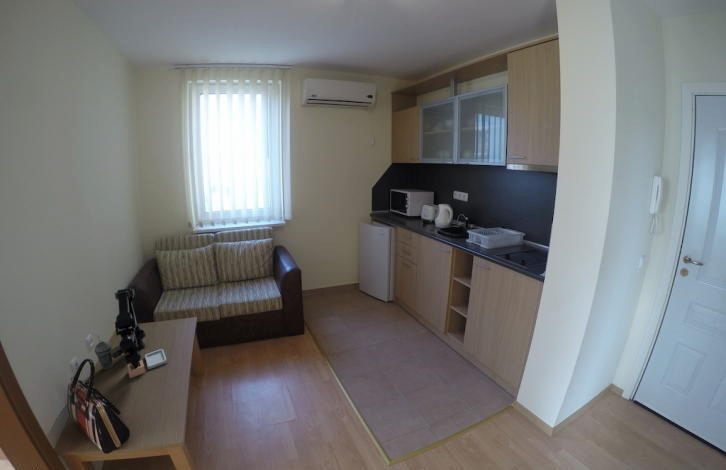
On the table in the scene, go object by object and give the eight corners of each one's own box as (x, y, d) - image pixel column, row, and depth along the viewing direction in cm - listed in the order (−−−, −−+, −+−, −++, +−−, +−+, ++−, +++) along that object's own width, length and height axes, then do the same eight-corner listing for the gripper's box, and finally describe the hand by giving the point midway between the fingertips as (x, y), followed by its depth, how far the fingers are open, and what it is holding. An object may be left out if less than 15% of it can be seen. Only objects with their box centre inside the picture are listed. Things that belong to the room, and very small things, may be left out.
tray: (145, 357, 182) (144, 354, 181) (163, 350, 188) (162, 348, 187) (148, 369, 172) (147, 367, 171) (167, 362, 177) (166, 359, 177)
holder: (128, 371, 170) (127, 365, 169) (143, 366, 175) (142, 360, 174) (129, 378, 165) (128, 371, 164) (145, 372, 170) (143, 366, 169)
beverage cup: (107, 372, 170) (98, 340, 165) (96, 370, 172) (87, 338, 166) (119, 363, 177) (111, 332, 172) (109, 361, 179) (100, 331, 173)
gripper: (108, 337, 166) (115, 362, 171) (110, 353, 153) (117, 380, 157) (134, 329, 173) (140, 353, 177) (137, 344, 159) (144, 370, 164)
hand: (135, 364), depth 169 cm, fingers open, 9 cm apart
